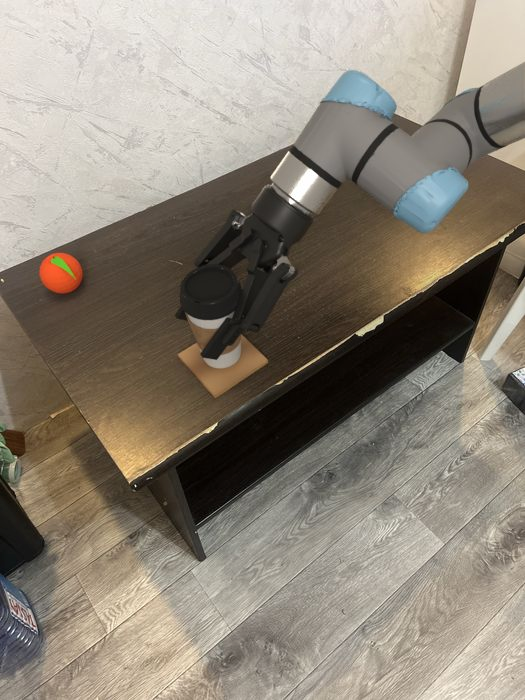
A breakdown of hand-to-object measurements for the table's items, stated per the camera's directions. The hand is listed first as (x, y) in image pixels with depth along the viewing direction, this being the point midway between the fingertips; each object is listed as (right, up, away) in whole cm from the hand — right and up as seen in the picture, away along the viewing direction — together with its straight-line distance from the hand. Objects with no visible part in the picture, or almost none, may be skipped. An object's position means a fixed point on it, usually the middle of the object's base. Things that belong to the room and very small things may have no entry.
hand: (195, 337), depth 70 cm
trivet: (+3, -3, +7) cm, 9 cm away
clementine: (-25, +9, +19) cm, 32 cm away
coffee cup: (+3, -2, +6) cm, 7 cm away
